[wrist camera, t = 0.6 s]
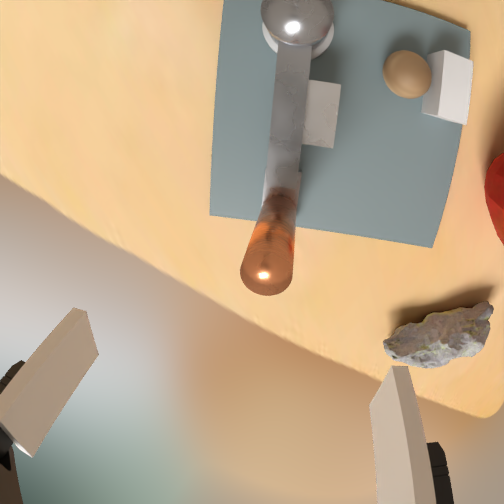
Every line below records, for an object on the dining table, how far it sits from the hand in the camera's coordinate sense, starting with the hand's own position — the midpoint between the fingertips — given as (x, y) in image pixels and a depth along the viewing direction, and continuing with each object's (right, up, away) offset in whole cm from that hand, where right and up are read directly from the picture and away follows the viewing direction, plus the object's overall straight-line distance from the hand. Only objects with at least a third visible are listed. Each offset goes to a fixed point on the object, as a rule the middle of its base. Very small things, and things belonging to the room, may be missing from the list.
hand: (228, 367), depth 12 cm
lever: (+5, +17, +13) cm, 22 cm away
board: (+10, +18, +14) cm, 25 cm away
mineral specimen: (+26, -5, +24) cm, 35 cm away
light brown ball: (+14, +21, +11) cm, 27 cm away
